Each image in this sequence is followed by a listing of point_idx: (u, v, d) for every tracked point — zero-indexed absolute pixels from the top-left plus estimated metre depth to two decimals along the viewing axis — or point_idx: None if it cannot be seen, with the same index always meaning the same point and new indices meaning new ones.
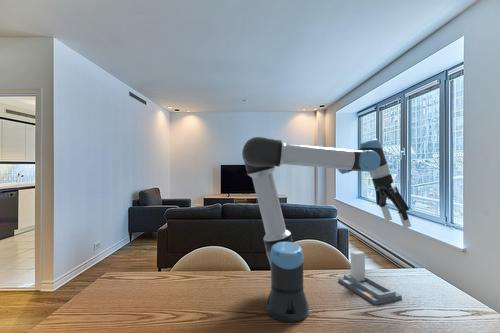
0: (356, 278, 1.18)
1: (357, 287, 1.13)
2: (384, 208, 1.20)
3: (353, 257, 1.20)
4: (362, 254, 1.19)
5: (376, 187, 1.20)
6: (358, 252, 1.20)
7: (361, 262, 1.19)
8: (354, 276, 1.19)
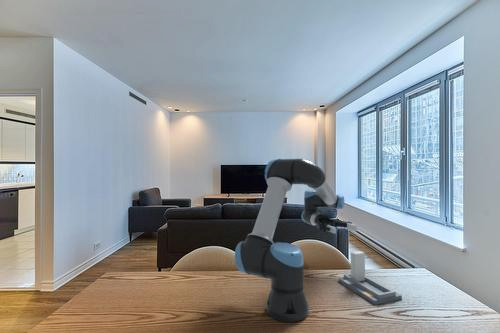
0: (356, 278, 1.18)
1: (357, 287, 1.13)
2: None
3: (353, 257, 1.20)
4: (362, 254, 1.19)
5: (316, 221, 1.42)
6: (358, 252, 1.20)
7: (361, 262, 1.19)
8: (354, 276, 1.19)
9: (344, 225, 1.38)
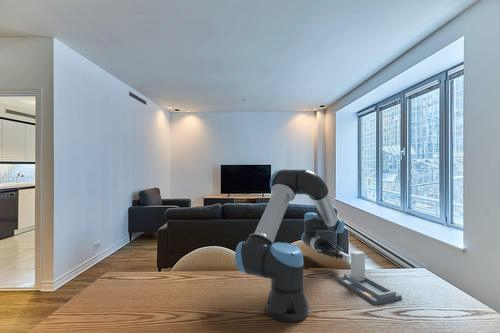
0: (356, 278, 1.18)
1: (357, 287, 1.13)
2: None
3: (353, 257, 1.20)
4: (362, 254, 1.19)
5: None
6: (358, 252, 1.20)
7: (361, 262, 1.19)
8: (354, 276, 1.19)
9: None
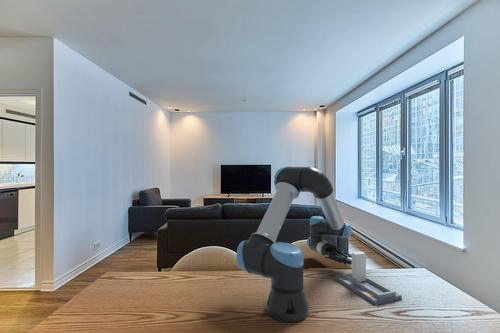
0: (357, 279, 1.18)
1: (357, 287, 1.13)
2: None
3: (354, 257, 1.19)
4: (363, 254, 1.19)
5: (326, 253, 1.36)
6: (359, 253, 1.19)
7: (362, 263, 1.19)
8: (355, 277, 1.18)
9: (346, 258, 1.31)
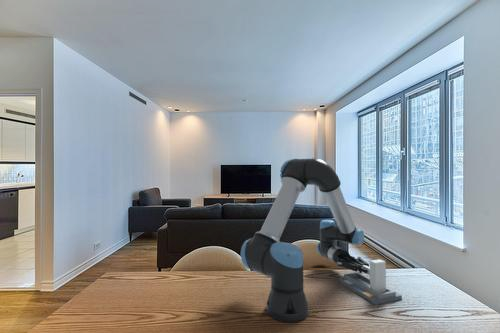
0: (376, 290, 1.07)
1: (357, 287, 1.13)
2: None
3: (372, 266, 1.08)
4: (383, 263, 1.08)
5: (339, 260, 1.25)
6: (378, 261, 1.09)
7: (381, 272, 1.08)
8: (374, 287, 1.08)
9: None
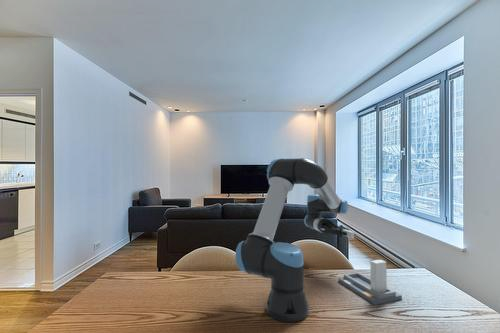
0: (377, 290, 1.07)
1: (357, 287, 1.13)
2: None
3: (373, 266, 1.08)
4: (384, 263, 1.08)
5: None
6: (379, 261, 1.09)
7: (382, 272, 1.08)
8: (375, 288, 1.07)
9: None
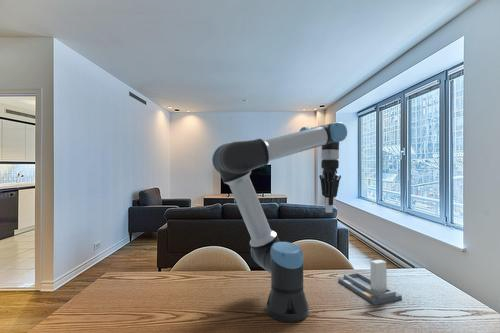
0: (377, 290, 1.07)
1: (357, 287, 1.13)
2: None
3: (373, 266, 1.08)
4: (384, 263, 1.08)
5: (321, 175, 1.28)
6: (379, 261, 1.09)
7: (382, 272, 1.08)
8: (375, 288, 1.07)
9: None
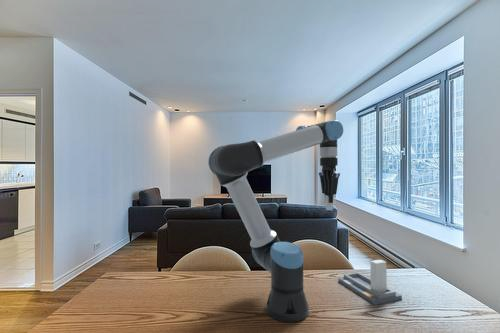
0: (377, 290, 1.07)
1: (357, 287, 1.13)
2: None
3: (373, 266, 1.08)
4: (384, 263, 1.08)
5: (320, 172, 1.27)
6: (379, 261, 1.09)
7: (382, 272, 1.08)
8: (375, 288, 1.07)
9: None
